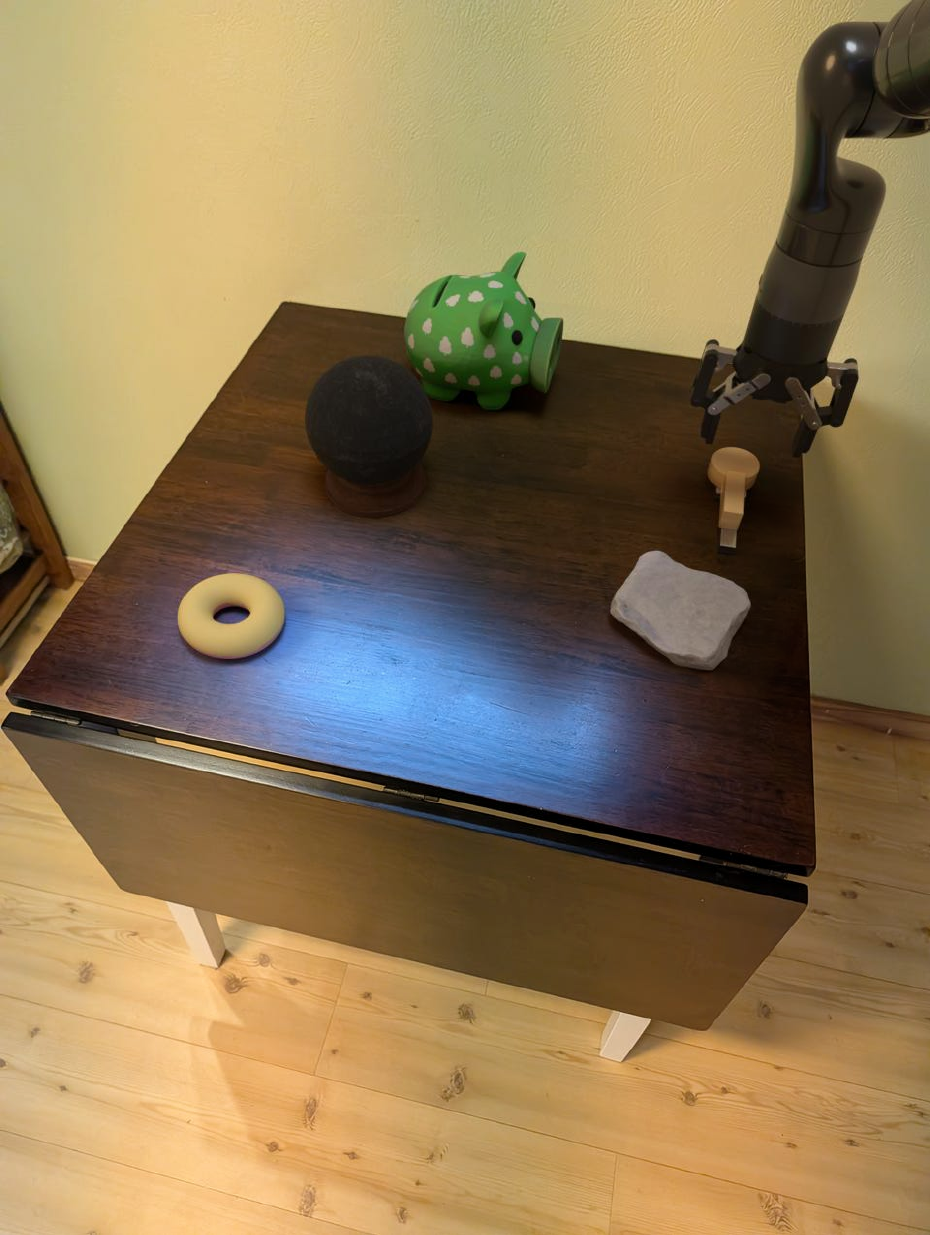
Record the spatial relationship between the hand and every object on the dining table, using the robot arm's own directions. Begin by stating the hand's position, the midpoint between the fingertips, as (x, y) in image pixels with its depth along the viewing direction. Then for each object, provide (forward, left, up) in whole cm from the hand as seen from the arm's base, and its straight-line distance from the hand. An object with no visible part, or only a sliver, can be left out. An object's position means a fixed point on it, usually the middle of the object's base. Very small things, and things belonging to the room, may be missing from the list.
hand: (752, 445), depth 85 cm
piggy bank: (+34, +9, -9) cm, 36 cm away
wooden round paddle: (+1, 0, -8) cm, 8 cm away
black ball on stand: (+27, +29, -9) cm, 40 cm away
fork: (+1, 0, -9) cm, 9 cm away
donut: (+18, +51, -9) cm, 54 cm away
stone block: (-7, +17, -9) cm, 20 cm away
